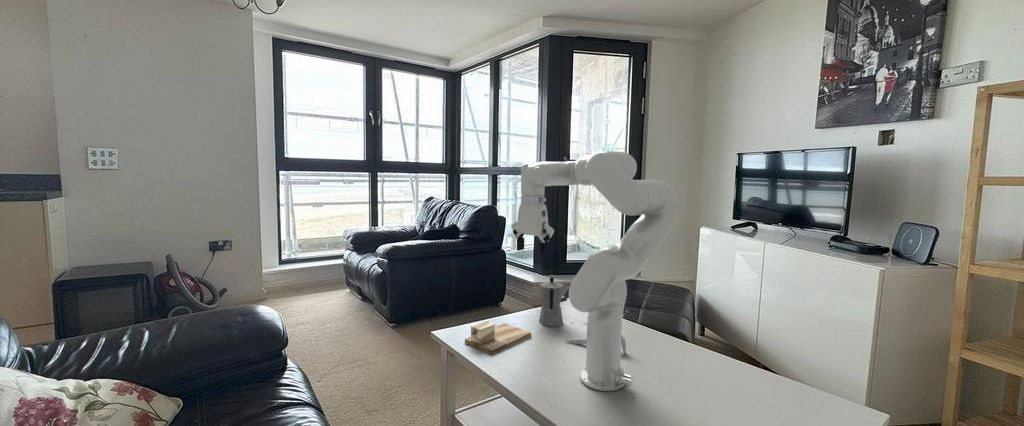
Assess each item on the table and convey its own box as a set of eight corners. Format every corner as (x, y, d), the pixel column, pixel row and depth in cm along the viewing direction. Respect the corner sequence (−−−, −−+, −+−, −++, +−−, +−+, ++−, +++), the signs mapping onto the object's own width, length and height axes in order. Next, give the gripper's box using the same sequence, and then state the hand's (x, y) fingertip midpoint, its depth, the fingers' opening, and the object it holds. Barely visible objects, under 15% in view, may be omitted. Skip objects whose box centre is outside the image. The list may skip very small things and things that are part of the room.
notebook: (531, 336, 150) (531, 332, 150) (491, 354, 135) (491, 350, 135) (504, 327, 159) (504, 323, 159) (464, 343, 144) (464, 338, 144)
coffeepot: (539, 316, 171) (540, 272, 169) (562, 316, 170) (563, 273, 168) (538, 330, 156) (538, 283, 154) (563, 331, 155) (564, 284, 153)
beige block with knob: (496, 337, 146) (496, 323, 145) (477, 345, 139) (477, 330, 139) (487, 333, 149) (487, 320, 148) (468, 341, 142) (468, 327, 142)
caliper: (625, 353, 138) (626, 335, 137) (625, 354, 137) (625, 336, 136) (566, 341, 147) (566, 324, 146) (565, 342, 146) (565, 325, 145)
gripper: (560, 201, 134) (559, 254, 136) (519, 198, 146) (519, 246, 148) (546, 202, 129) (545, 257, 131) (505, 199, 140) (504, 249, 142)
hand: (531, 251), depth 139 cm, fingers open, 9 cm apart
